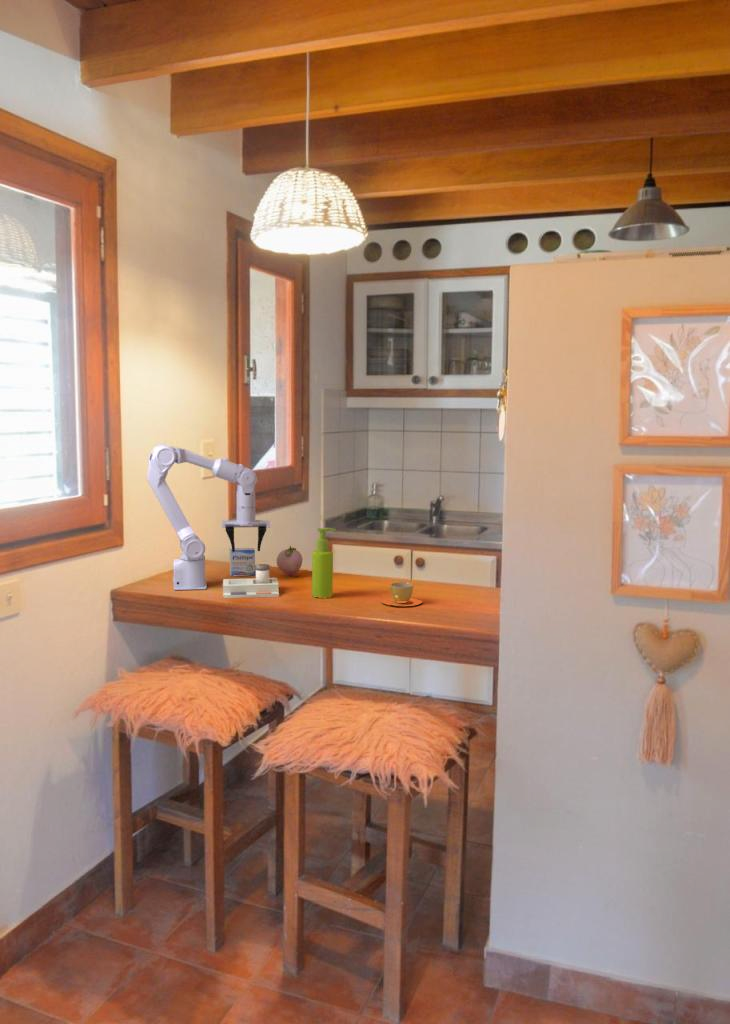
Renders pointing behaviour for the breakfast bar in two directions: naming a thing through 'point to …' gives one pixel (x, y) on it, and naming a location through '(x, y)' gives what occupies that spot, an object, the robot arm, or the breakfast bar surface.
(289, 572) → the decorative fruit
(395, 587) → the cup
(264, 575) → the white pill bottle
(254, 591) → the socket block
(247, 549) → the medicine box
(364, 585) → the breakfast bar surface
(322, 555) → the soap dispenser
